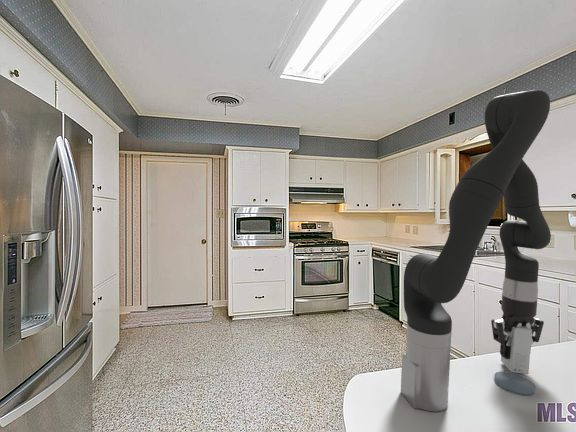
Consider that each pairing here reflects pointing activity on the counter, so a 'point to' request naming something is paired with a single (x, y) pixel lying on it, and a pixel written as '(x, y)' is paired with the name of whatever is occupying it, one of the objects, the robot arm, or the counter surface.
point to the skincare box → (519, 350)
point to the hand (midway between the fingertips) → (514, 356)
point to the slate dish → (515, 383)
